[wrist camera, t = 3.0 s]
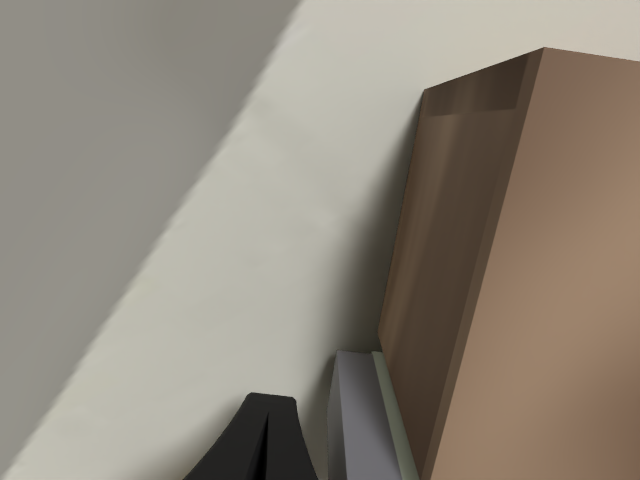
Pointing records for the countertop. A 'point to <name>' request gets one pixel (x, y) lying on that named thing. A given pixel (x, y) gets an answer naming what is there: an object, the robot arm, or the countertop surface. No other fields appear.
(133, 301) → the countertop surface
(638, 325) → the cabinet
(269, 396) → the robot arm
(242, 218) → the countertop surface
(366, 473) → the door
